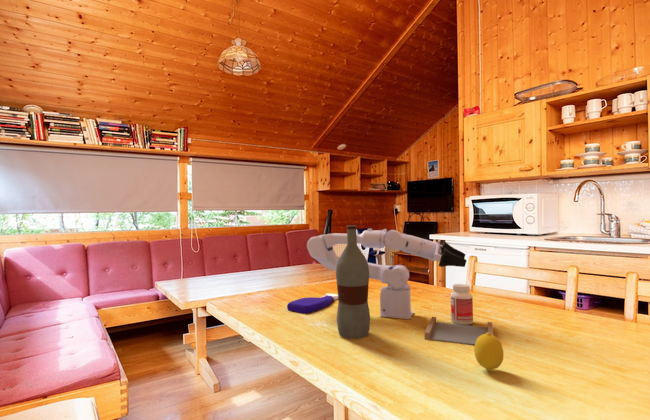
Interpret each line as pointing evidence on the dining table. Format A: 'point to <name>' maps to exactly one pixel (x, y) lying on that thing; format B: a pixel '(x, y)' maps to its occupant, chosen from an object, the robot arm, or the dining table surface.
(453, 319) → the pill bottle
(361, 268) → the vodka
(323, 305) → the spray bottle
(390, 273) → the robot arm
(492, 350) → the lemon
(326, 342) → the dining table surface
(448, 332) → the grey tray
